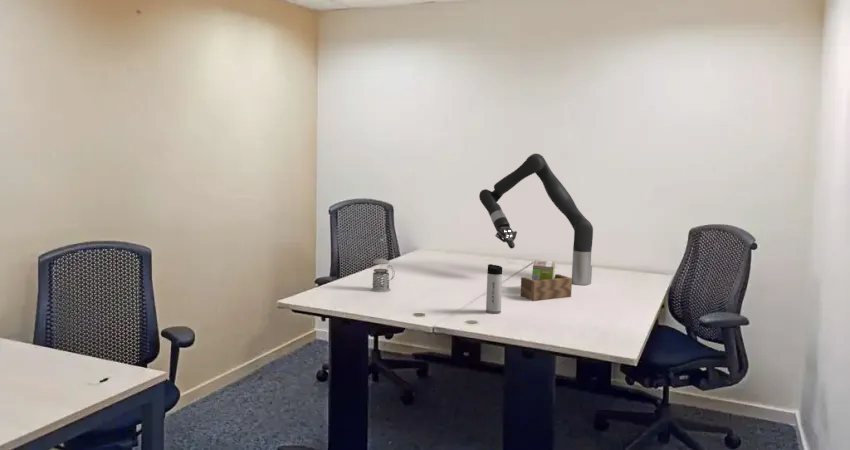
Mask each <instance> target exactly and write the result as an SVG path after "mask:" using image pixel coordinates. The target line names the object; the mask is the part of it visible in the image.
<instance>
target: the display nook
mask: <svg viewBox="0 0 850 450" xmlns="http://www.w3.org/2000/svg"><path fill="white" fill-rule="evenodd" d="M520 280H521V281H520V297H521V298H524V299H526V300H529V301H532V302H538V301H546V300H554V299H555V300H557V299H564V298H571V297H572V289H573V285H572V284H573V283H572V277H568V276H567V275H564V274H563V275H562V274H559V273H558V274H557V273H556V274H555V273H554V279H546V280H536V281H535V280H532V278H528V277H526V276H522V277H520Z"/></svg>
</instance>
